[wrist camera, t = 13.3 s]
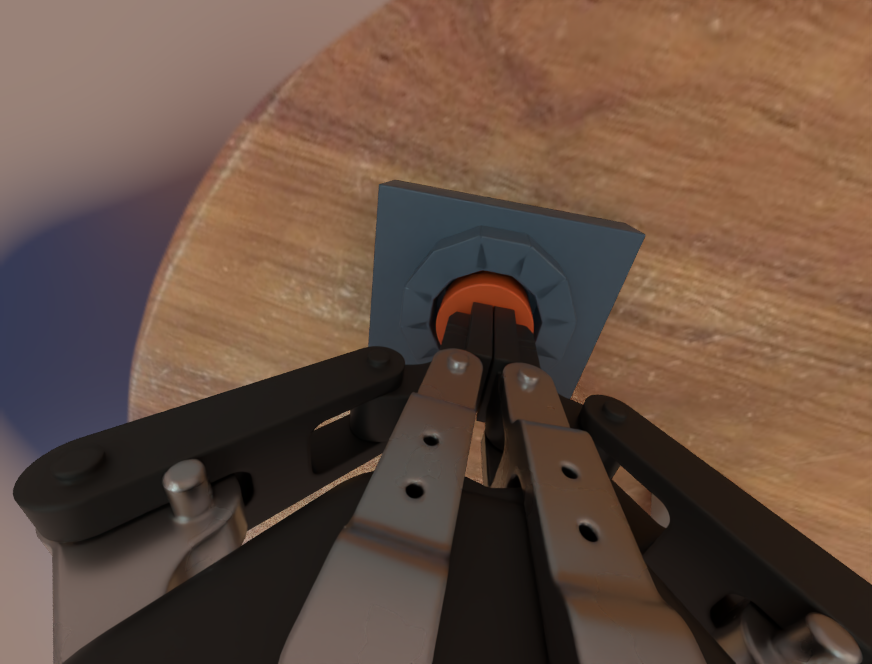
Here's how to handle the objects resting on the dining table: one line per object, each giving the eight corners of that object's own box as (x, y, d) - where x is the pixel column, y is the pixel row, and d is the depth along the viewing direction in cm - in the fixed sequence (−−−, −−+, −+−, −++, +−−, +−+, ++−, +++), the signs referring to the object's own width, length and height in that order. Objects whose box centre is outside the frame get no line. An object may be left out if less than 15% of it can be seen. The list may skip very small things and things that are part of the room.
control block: (380, 336, 19) (354, 379, 15) (393, 179, 15) (362, 188, 11) (561, 375, 18) (577, 429, 14) (626, 222, 14) (669, 246, 11)
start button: (435, 338, 15) (429, 359, 13) (449, 260, 13) (444, 274, 12) (515, 355, 15) (518, 378, 13) (541, 278, 13) (547, 295, 11)
